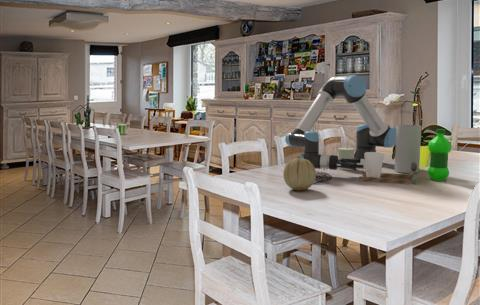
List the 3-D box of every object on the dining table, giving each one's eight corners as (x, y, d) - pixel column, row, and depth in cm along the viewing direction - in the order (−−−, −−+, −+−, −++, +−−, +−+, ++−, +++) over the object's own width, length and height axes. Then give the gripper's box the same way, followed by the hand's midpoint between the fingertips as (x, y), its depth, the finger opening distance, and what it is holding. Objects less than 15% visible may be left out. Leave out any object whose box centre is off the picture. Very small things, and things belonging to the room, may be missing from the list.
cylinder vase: (407, 174, 237) (409, 127, 234) (389, 170, 248) (391, 125, 245) (424, 172, 243) (426, 126, 239) (405, 168, 254) (407, 124, 250)
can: (355, 168, 258) (356, 147, 256) (352, 170, 250) (352, 149, 248) (339, 166, 262) (339, 146, 260) (335, 169, 254) (336, 148, 252)
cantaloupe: (293, 195, 194) (293, 160, 192) (277, 188, 208) (277, 156, 205) (322, 191, 200) (323, 158, 198) (304, 185, 213) (305, 153, 211)
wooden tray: (359, 180, 223) (359, 163, 221) (362, 175, 236) (363, 158, 235) (416, 184, 213) (417, 166, 212) (416, 178, 226) (417, 161, 225)
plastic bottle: (422, 177, 229) (425, 128, 225) (443, 177, 229) (446, 128, 226) (432, 181, 219) (435, 130, 215) (453, 181, 219) (456, 130, 216)
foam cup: (361, 177, 231) (361, 152, 229) (378, 176, 232) (379, 151, 230) (367, 181, 222) (368, 154, 220) (386, 180, 223) (387, 154, 221)
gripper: (333, 165, 246) (374, 167, 238) (324, 173, 223) (369, 176, 215) (334, 151, 245) (374, 153, 237) (324, 158, 222) (369, 160, 214)
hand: (372, 164), depth 226 cm, fingers open, 13 cm apart
